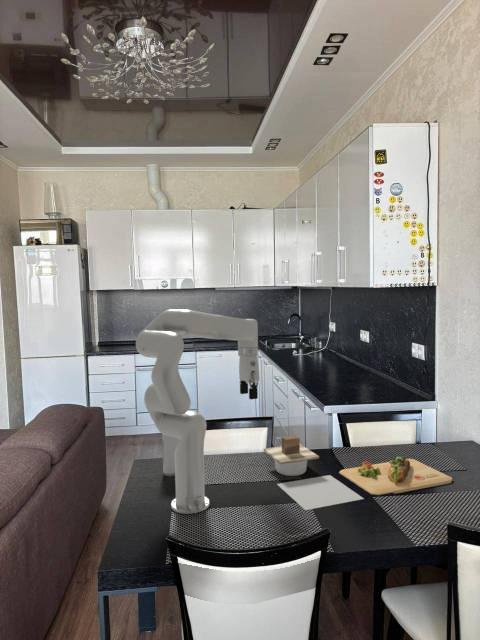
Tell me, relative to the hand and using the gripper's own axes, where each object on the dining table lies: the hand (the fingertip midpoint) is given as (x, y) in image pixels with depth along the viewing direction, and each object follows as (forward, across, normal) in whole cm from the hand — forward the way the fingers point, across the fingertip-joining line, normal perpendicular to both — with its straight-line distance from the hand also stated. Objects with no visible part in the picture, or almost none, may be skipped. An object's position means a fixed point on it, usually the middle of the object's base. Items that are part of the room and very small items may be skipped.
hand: (248, 396), depth 182 cm
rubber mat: (+30, -25, -16) cm, 42 cm away
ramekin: (+31, -4, -16) cm, 35 cm away
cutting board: (+31, -24, -49) cm, 63 cm away
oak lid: (+24, -4, -16) cm, 29 cm away
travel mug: (+31, +12, +28) cm, 43 cm away
